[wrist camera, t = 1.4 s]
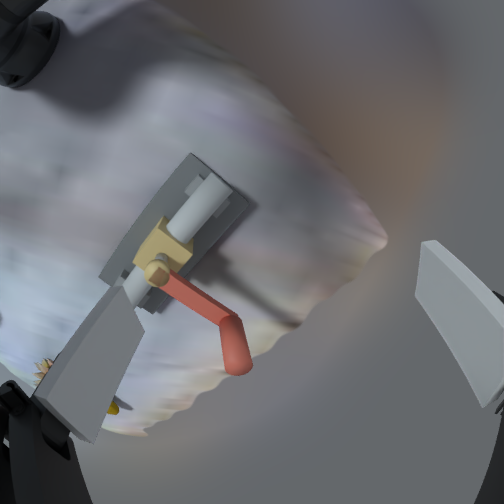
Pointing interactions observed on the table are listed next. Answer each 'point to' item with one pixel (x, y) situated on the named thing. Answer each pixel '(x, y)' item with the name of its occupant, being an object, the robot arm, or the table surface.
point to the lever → (205, 314)
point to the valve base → (169, 210)
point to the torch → (44, 368)
